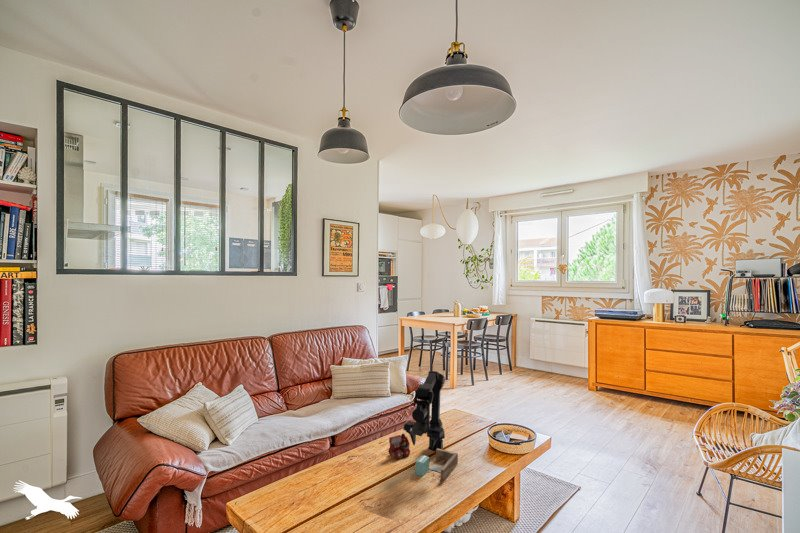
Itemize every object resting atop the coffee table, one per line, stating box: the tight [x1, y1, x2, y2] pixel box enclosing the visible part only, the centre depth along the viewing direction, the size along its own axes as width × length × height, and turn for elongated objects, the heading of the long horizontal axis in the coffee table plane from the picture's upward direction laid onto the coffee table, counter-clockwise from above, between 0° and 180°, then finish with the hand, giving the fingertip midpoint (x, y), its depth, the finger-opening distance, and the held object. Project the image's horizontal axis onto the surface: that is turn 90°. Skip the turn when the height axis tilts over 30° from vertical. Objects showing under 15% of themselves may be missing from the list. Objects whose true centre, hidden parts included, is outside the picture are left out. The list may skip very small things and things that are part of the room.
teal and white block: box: [414, 454, 430, 477], centre depth 181 cm, size 7×4×6 cm, turn 152°
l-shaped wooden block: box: [428, 448, 459, 482], centre depth 184 cm, size 11×19×5 cm, turn 152°
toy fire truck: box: [387, 433, 411, 460], centre depth 197 cm, size 7×12×10 cm, turn 126°
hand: (422, 447), depth 182 cm, fingers open, 9 cm apart
